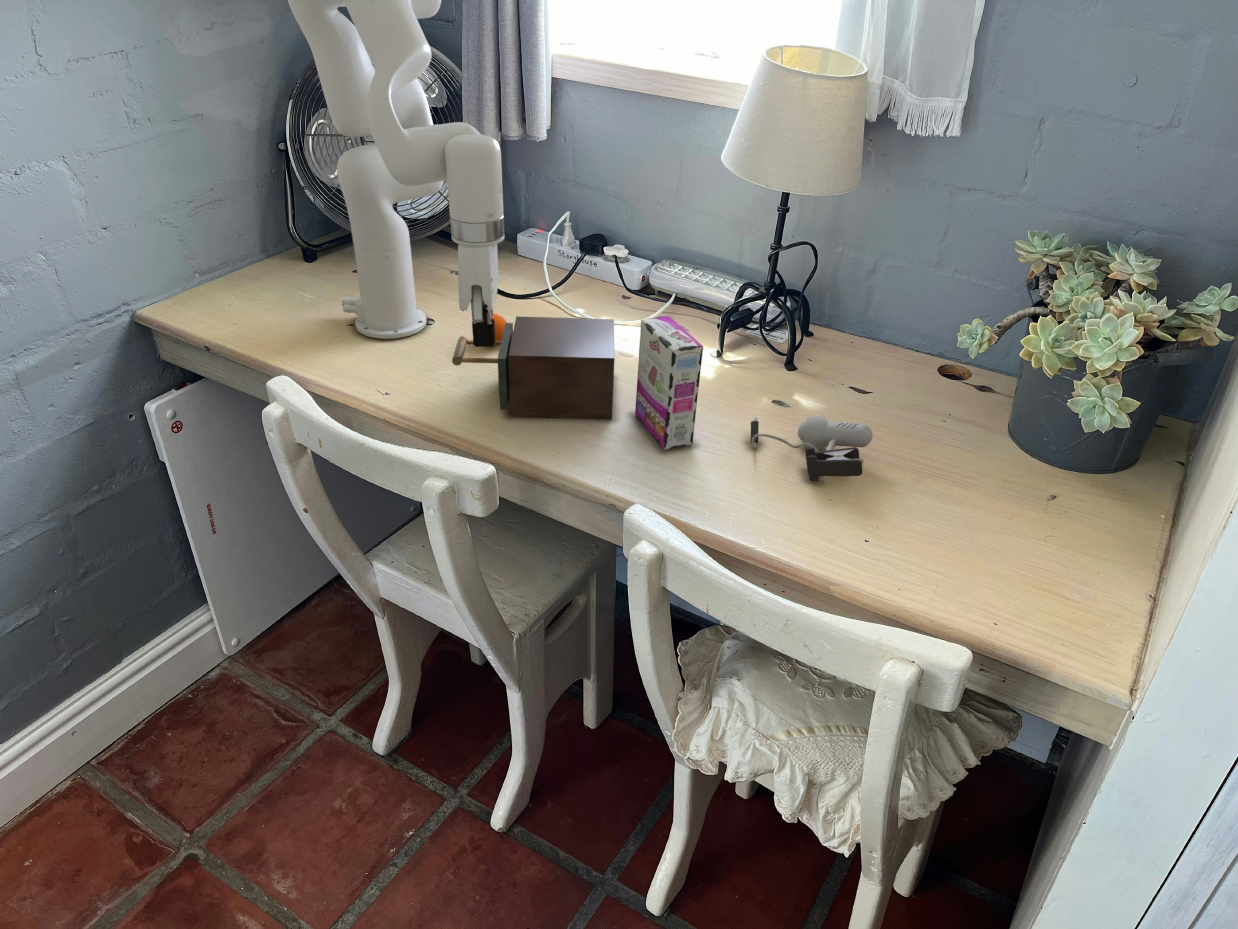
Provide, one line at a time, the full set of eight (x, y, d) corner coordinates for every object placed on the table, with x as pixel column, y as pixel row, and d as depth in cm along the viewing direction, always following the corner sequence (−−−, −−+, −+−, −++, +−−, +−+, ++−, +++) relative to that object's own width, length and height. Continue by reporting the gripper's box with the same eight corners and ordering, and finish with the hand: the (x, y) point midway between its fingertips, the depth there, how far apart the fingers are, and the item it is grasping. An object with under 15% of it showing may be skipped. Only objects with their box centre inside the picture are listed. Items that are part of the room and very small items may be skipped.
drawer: (452, 408, 134) (448, 357, 129) (463, 370, 144) (459, 321, 139) (594, 412, 135) (595, 361, 130) (594, 373, 145) (596, 325, 140)
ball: (473, 348, 153) (472, 319, 150) (482, 335, 157) (481, 307, 154) (504, 352, 152) (503, 323, 149) (512, 338, 156) (511, 310, 153)
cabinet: (510, 417, 134) (508, 355, 128) (517, 374, 145) (516, 316, 139) (612, 419, 135) (614, 358, 129) (611, 377, 146) (613, 319, 140)
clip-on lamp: (736, 477, 128) (861, 488, 120) (731, 442, 125) (858, 451, 117) (759, 433, 136) (877, 440, 128) (755, 398, 133) (876, 404, 125)
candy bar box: (694, 445, 130) (705, 345, 120) (664, 451, 128) (672, 351, 119) (662, 409, 138) (669, 313, 129) (633, 414, 136) (639, 317, 127)
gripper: (458, 210, 130) (466, 323, 141) (443, 245, 118) (453, 366, 128) (508, 211, 131) (513, 324, 141) (498, 246, 118) (504, 367, 128)
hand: (484, 344), depth 134 cm, fingers closed
